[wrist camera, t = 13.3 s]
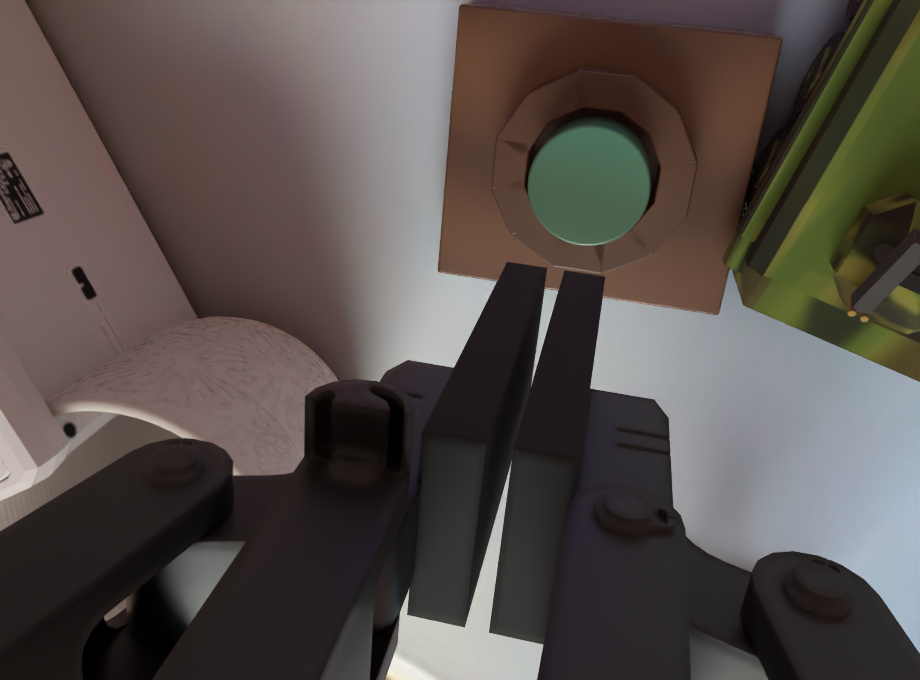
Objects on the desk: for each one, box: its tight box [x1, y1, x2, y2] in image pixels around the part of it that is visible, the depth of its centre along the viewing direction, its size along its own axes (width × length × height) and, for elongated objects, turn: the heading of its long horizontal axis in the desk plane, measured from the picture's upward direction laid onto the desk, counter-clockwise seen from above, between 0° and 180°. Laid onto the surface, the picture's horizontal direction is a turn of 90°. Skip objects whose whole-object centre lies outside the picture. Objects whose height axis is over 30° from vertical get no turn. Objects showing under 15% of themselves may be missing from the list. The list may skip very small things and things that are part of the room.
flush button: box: [528, 116, 651, 246], centre depth 28 cm, size 4×4×2 cm
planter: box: [0, 316, 339, 621], centre depth 35 cm, size 12×12×11 cm
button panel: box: [438, 3, 783, 315], centre depth 31 cm, size 10×11×4 cm
